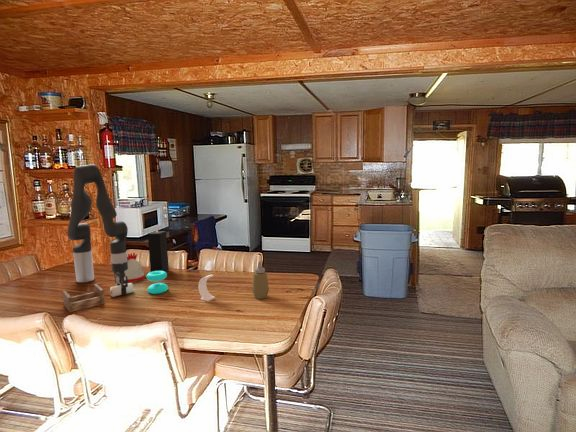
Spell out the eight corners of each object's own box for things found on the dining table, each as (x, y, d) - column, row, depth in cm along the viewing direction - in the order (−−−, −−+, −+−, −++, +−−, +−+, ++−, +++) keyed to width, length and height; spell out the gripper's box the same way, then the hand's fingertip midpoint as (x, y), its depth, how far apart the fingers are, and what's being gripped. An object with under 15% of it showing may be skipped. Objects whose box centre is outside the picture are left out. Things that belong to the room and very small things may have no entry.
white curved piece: (208, 301, 179) (206, 277, 177) (199, 299, 182) (197, 275, 180) (214, 298, 182) (213, 274, 181) (205, 296, 186) (204, 272, 184)
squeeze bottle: (271, 295, 185) (270, 259, 182) (265, 301, 177) (264, 264, 175) (256, 293, 187) (255, 258, 185) (249, 299, 180) (248, 263, 177)
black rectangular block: (162, 274, 225) (159, 228, 221) (150, 273, 227) (147, 228, 223) (169, 270, 233) (165, 225, 229) (157, 269, 234) (154, 225, 230)
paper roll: (112, 298, 186) (111, 288, 186) (109, 295, 190) (108, 286, 189) (135, 292, 193) (134, 283, 193) (131, 290, 197) (130, 281, 196)
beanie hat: (149, 277, 220) (147, 252, 218) (129, 283, 209) (126, 257, 206) (135, 273, 228) (133, 249, 225) (114, 280, 216) (111, 254, 214)
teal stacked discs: (170, 272, 193) (152, 276, 186) (171, 290, 195) (153, 296, 188) (160, 268, 200) (142, 273, 193) (162, 286, 202) (144, 291, 194)
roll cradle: (69, 312, 169) (67, 297, 168) (64, 305, 178) (62, 291, 177) (104, 303, 179) (103, 289, 178) (97, 297, 188) (96, 283, 187)
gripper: (107, 260, 192) (110, 291, 195) (115, 265, 181) (119, 298, 184) (122, 257, 197) (125, 288, 199) (131, 262, 186) (134, 295, 189)
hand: (122, 293), depth 192 cm, fingers open, 5 cm apart
